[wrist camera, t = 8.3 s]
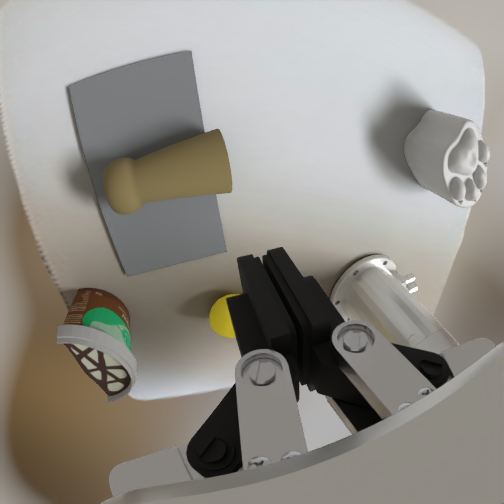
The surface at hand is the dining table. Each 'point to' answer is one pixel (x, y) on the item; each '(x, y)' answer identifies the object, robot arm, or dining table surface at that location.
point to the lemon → (221, 318)
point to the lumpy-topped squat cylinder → (448, 157)
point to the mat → (141, 144)
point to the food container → (101, 340)
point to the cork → (169, 173)
